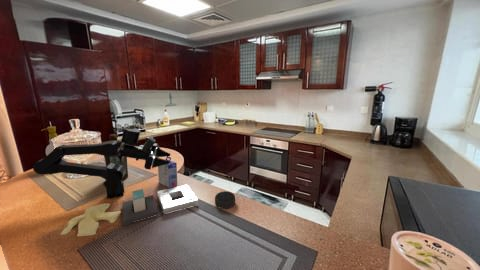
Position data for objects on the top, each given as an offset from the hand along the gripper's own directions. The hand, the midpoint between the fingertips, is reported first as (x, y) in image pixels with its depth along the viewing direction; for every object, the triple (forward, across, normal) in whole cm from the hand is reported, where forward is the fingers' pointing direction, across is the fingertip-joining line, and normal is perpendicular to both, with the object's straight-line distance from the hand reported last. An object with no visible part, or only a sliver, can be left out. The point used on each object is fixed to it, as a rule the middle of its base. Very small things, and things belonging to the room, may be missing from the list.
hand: (169, 158), depth 98 cm
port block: (+7, -16, +13) cm, 21 cm away
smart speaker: (+26, -23, +7) cm, 36 cm away
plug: (-7, -19, +17) cm, 27 cm away
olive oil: (-23, +18, +25) cm, 38 cm away
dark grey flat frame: (-7, -19, +17) cm, 27 cm away
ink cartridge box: (+3, +4, +16) cm, 17 cm away
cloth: (-23, -21, +22) cm, 39 cm away
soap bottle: (-61, +44, +39) cm, 85 cm away
